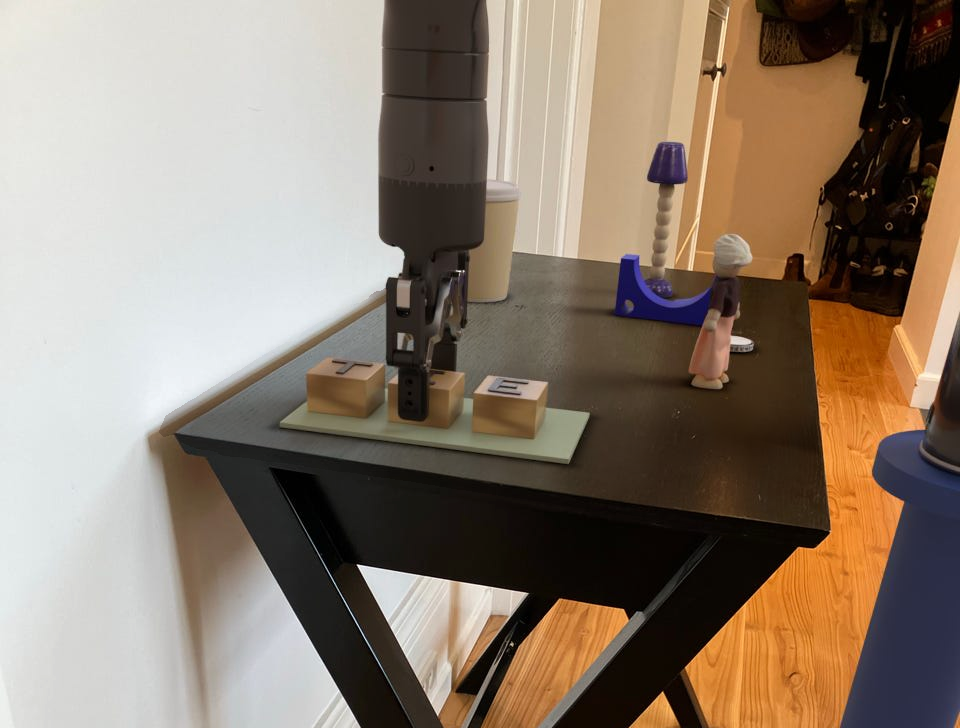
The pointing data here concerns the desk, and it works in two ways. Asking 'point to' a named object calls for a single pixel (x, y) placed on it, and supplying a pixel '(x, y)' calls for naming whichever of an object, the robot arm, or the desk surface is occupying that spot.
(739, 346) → the washi tape
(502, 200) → the coffee cup
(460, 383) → the tile
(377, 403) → the tile
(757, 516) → the desk surface
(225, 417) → the desk surface
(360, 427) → the word mat
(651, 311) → the blue curved cradle
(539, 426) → the tile
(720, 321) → the grandmother figurine
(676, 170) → the toy lamp
